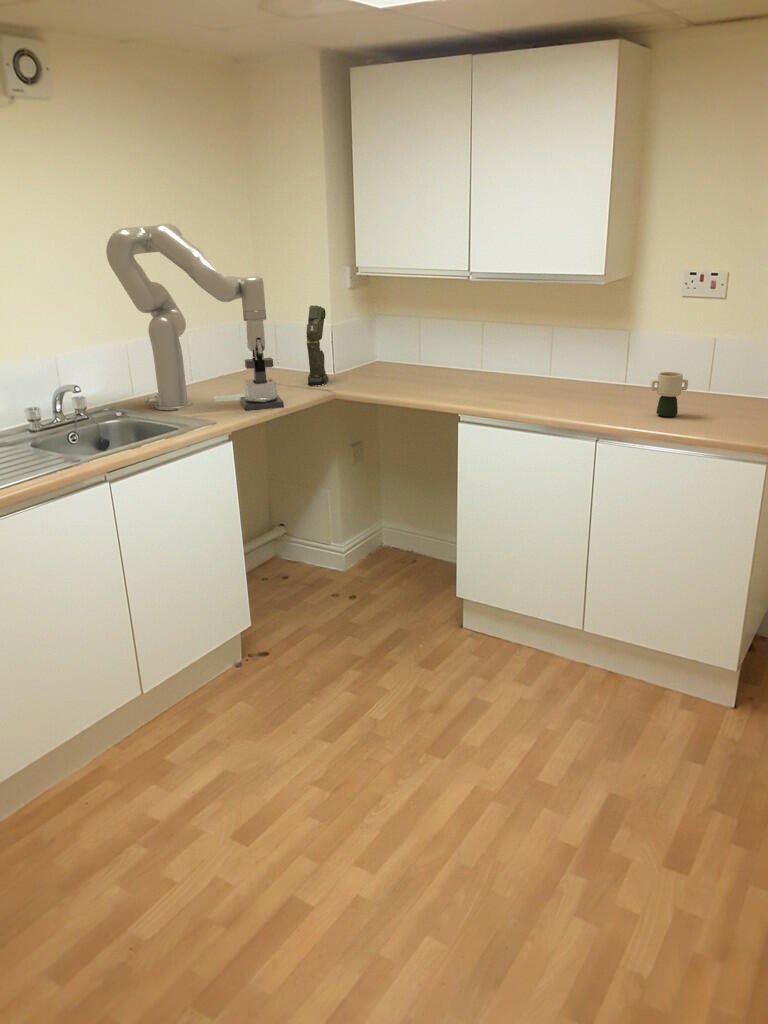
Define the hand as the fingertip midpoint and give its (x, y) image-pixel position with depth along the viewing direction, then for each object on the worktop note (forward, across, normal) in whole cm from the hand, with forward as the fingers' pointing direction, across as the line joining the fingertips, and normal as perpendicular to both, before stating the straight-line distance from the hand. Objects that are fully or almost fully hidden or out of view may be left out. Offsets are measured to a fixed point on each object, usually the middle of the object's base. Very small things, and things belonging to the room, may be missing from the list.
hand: (259, 369), depth 281 cm
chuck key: (+6, 0, 0) cm, 6 cm away
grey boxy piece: (+10, 0, 0) cm, 10 cm away
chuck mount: (+12, 0, 0) cm, 12 cm away
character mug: (+13, +64, +116) cm, 133 cm away
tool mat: (+12, -14, -9) cm, 20 cm away
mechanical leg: (+12, -30, +26) cm, 41 cm away
